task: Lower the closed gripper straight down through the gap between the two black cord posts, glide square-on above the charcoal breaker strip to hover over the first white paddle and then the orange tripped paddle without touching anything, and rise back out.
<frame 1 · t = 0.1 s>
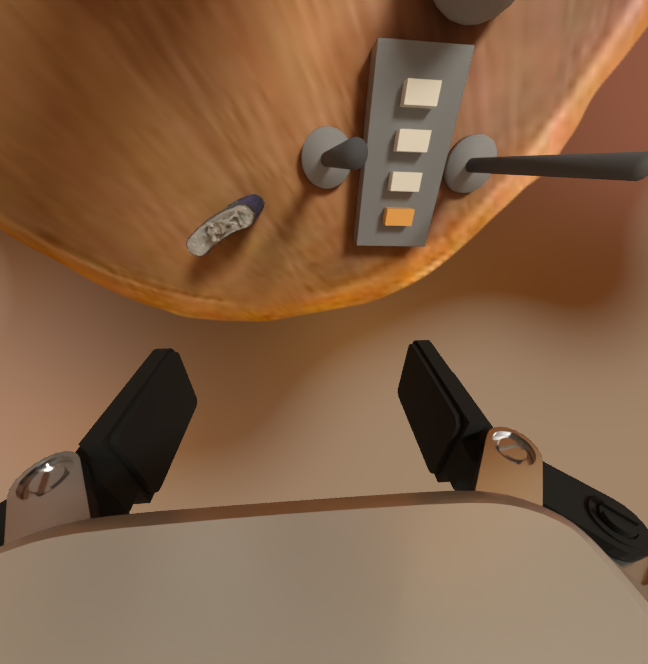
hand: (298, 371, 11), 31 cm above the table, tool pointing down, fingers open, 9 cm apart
breaker strip: (398, 162, 33), on the table
cord post 2: (466, 165, 34), on the table
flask: (236, 215, 35), on the table
cord post 1: (326, 159, 32), on the table
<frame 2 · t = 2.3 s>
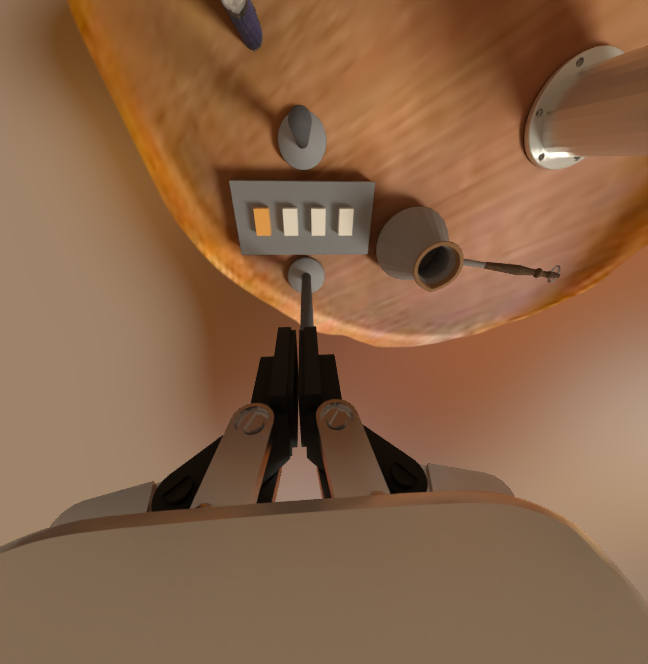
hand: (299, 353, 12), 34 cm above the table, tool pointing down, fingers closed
coffee pot: (432, 242, 43), on the table
breaker strip: (304, 217, 40), on the table
cord post 2: (306, 274, 45), on the table
cord post 1: (302, 141, 34), on the table
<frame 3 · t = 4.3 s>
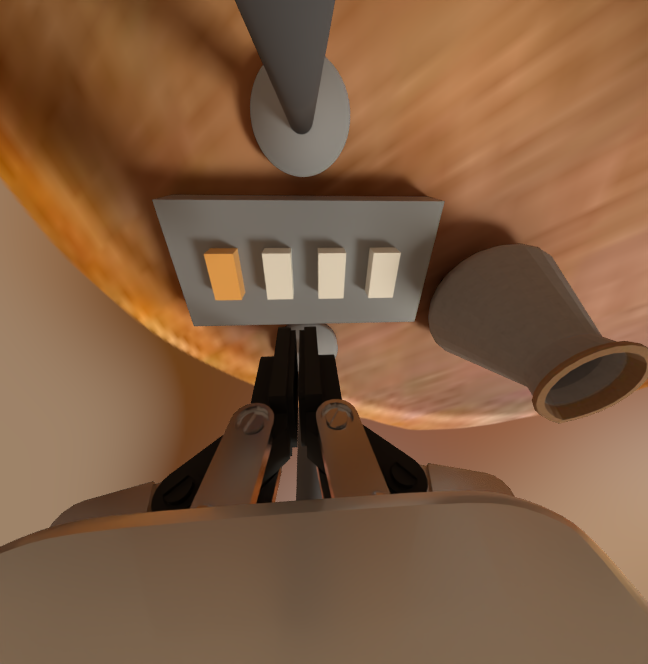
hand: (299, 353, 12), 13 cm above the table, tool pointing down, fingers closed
coffee pot: (517, 294, 26), on the table
breaker strip: (305, 258, 23), on the table
cord post 2: (307, 343, 28), on the table
cord post 1: (301, 121, 17), on the table
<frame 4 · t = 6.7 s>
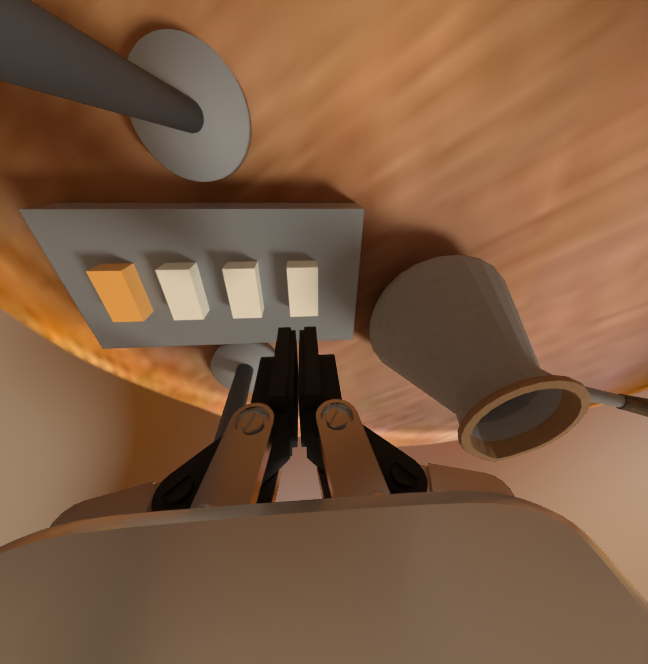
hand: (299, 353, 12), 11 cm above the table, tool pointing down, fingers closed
coffee pot: (471, 306, 24), on the table
breaker strip: (228, 271, 20), on the table
cord post 2: (247, 361, 26), on the table
cord post 1: (196, 118, 15), on the table
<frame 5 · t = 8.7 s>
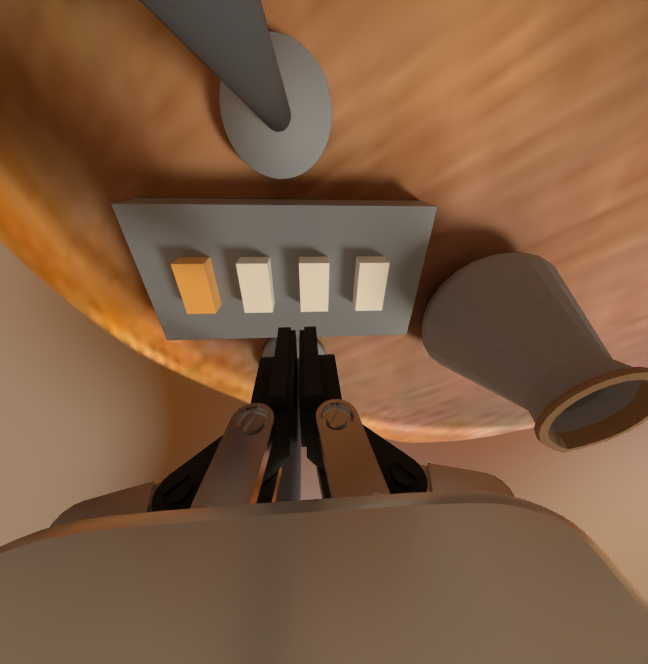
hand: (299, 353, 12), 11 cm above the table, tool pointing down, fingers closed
coffee pot: (516, 304, 25), on the table
breaker strip: (288, 267, 21), on the table
cord post 2: (294, 355, 26), on the table
cord post 1: (278, 117, 16), on the table
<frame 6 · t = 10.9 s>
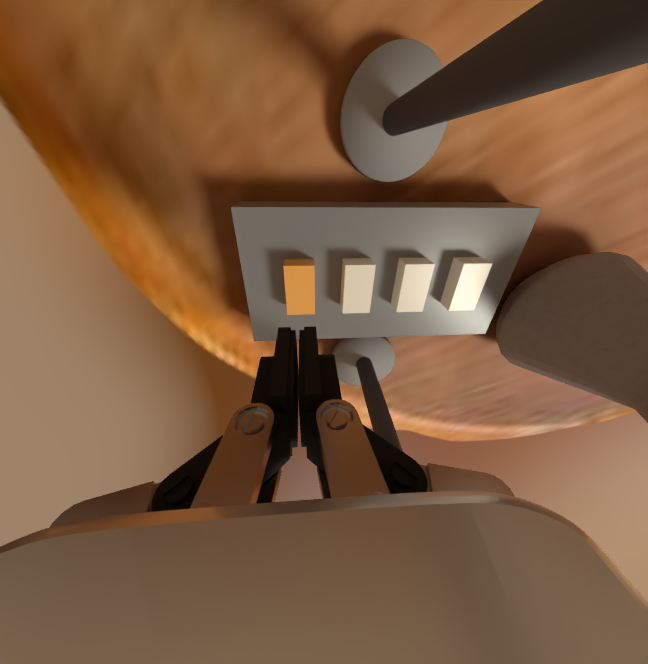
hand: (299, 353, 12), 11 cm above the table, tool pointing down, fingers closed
coffee pot: (584, 303, 25), on the table
breaker strip: (372, 268, 21), on the table
cord post 2: (361, 355, 26), on the table
cord post 1: (390, 121, 16), on the table
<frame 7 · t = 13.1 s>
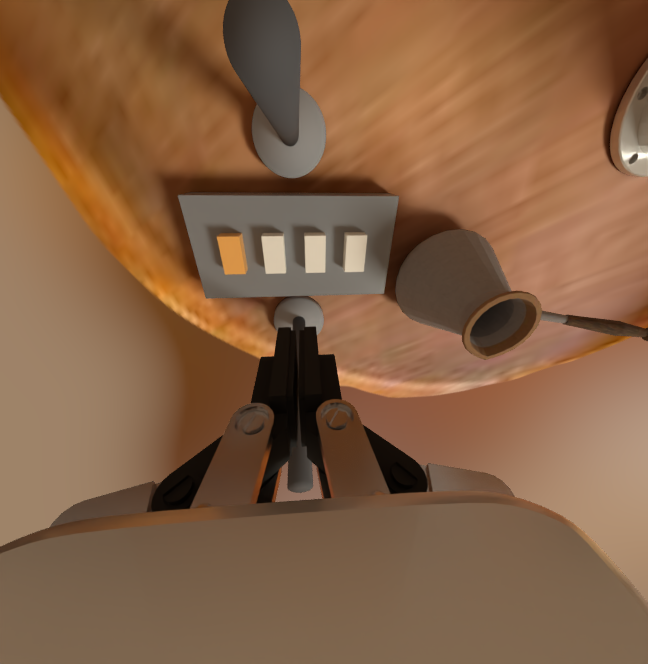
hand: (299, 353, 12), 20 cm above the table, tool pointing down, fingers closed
coffee pot: (469, 273, 32), on the table
breaker strip: (295, 243, 28), on the table
cord post 2: (298, 317, 33), on the table
cord post 1: (289, 136, 23), on the table
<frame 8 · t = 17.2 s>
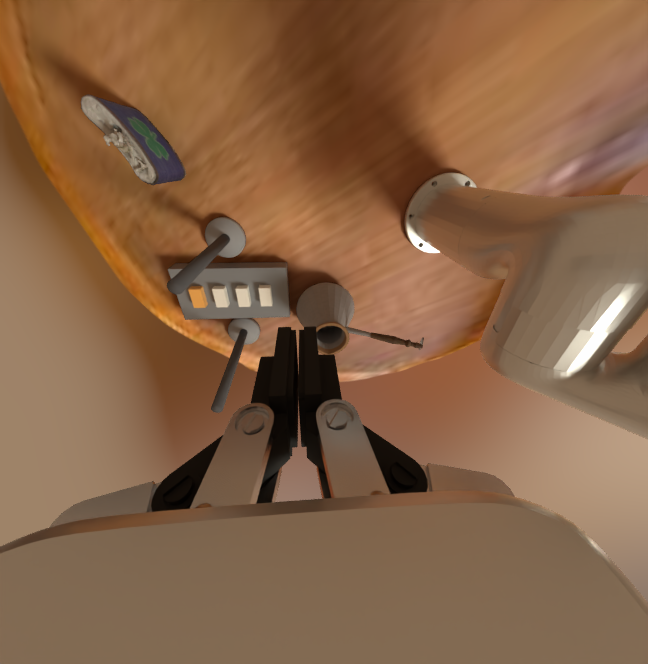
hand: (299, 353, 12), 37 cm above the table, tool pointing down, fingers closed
coffee pot: (347, 303, 53), on the table
breaker strip: (236, 288, 49), on the table
cord post 2: (244, 329, 54), on the table
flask: (159, 146, 36), on the table
cord post 1: (226, 237, 43), on the table
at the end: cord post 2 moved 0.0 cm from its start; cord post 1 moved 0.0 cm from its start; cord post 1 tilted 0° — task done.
